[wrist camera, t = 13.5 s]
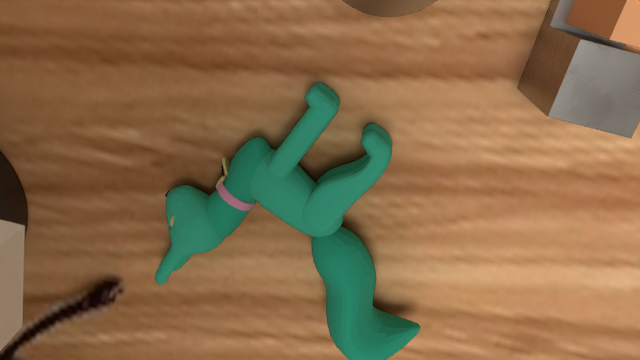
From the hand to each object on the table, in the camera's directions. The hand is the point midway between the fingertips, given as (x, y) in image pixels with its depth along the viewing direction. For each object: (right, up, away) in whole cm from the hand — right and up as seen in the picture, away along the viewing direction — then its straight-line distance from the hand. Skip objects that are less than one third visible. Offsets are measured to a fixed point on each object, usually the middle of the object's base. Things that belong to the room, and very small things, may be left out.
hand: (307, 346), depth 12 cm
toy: (0, 0, +32) cm, 32 cm away
